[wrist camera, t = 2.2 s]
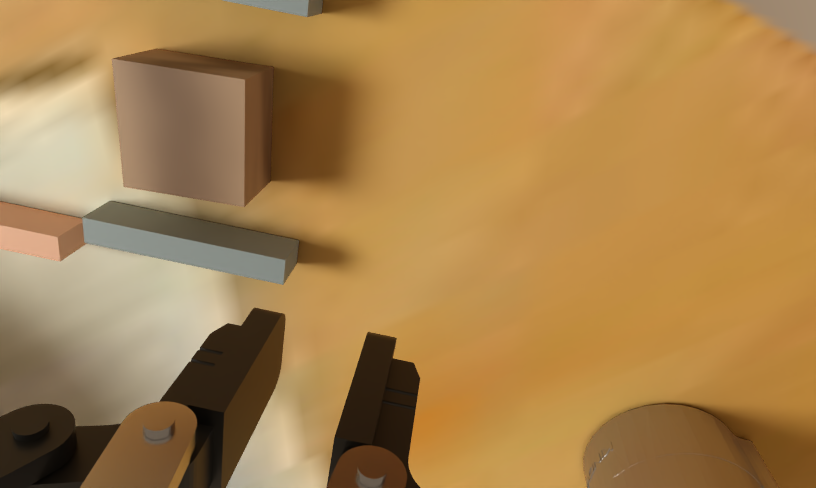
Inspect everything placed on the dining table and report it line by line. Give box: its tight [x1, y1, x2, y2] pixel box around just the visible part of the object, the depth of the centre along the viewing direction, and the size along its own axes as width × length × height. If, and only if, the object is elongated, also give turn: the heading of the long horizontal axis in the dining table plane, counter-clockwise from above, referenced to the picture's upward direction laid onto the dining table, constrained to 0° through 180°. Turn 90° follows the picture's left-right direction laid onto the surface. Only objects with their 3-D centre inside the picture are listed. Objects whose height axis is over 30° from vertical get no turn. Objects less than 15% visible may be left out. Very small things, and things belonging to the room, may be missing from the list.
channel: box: [82, 0, 323, 285], centre depth 28 cm, size 11×15×2 cm
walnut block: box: [112, 49, 274, 207], centre depth 28 cm, size 6×6×4 cm
